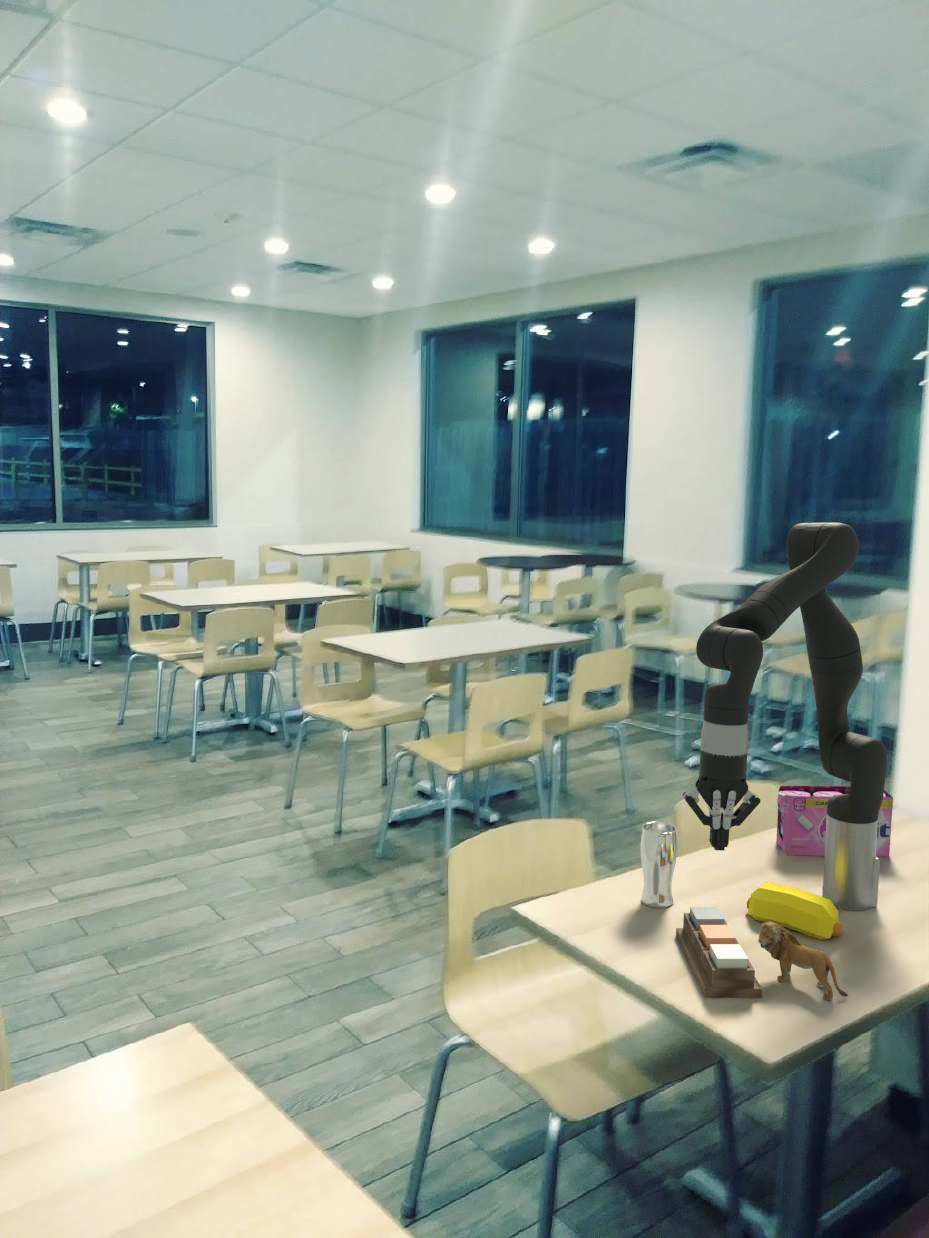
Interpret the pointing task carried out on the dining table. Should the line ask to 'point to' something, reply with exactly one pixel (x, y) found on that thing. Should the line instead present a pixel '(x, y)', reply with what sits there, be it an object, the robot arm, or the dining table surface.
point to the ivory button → (728, 956)
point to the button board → (712, 978)
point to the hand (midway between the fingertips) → (718, 848)
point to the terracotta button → (716, 935)
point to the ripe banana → (795, 910)
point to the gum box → (819, 819)
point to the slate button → (706, 916)
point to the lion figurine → (797, 956)
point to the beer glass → (658, 863)
